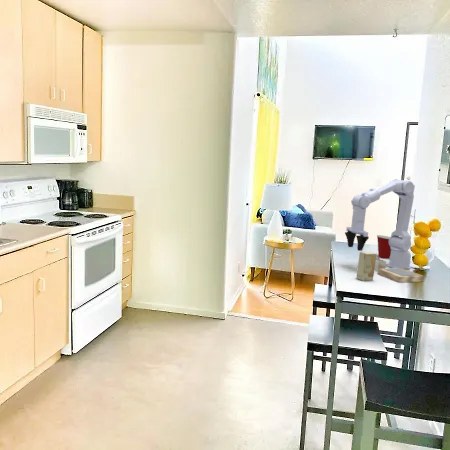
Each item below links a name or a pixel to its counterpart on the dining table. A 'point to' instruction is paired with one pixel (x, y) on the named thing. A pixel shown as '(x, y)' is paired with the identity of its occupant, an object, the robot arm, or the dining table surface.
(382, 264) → the housing
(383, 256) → the plastic cup
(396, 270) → the stand
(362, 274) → the skincare box
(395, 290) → the dining table surface
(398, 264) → the robot arm
